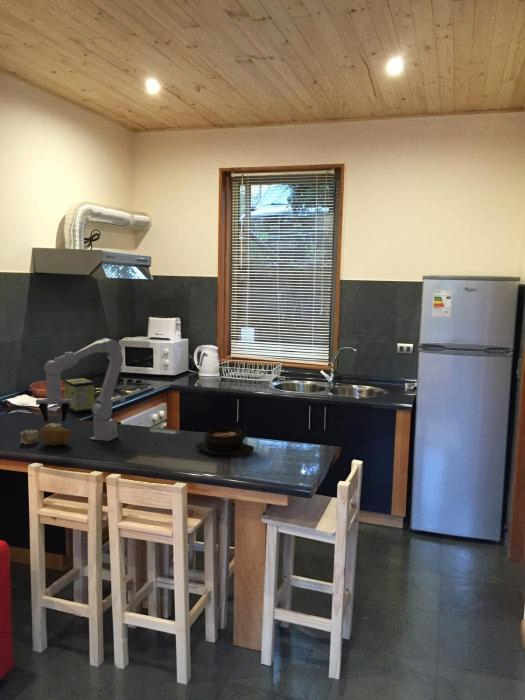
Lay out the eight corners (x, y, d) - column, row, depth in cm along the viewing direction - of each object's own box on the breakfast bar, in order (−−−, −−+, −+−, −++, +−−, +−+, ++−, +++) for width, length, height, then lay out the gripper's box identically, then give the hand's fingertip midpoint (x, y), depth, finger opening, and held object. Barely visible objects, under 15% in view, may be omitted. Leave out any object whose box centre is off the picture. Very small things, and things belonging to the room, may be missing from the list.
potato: (61, 450, 233) (61, 431, 232) (34, 446, 238) (33, 428, 237) (77, 443, 243) (76, 425, 241) (50, 440, 247) (50, 422, 246)
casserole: (186, 454, 230) (186, 434, 229) (208, 442, 247) (208, 423, 245) (242, 462, 220) (242, 441, 219) (261, 449, 237) (261, 429, 236)
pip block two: (61, 434, 256) (61, 423, 256) (54, 437, 252) (54, 426, 251) (51, 433, 258) (51, 422, 257) (44, 436, 253) (44, 425, 252)
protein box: (83, 405, 313) (82, 377, 311) (95, 410, 301) (94, 381, 299) (64, 408, 307) (63, 379, 305) (76, 413, 295) (75, 384, 293)
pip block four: (38, 441, 246) (38, 430, 245) (31, 444, 241) (30, 433, 240) (28, 440, 247) (28, 429, 246) (21, 443, 242) (20, 432, 241)
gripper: (74, 387, 242) (75, 418, 243) (39, 387, 241) (40, 418, 243) (69, 390, 235) (70, 422, 237) (33, 391, 234) (35, 423, 236)
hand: (55, 421), depth 239 cm, fingers open, 7 cm apart
